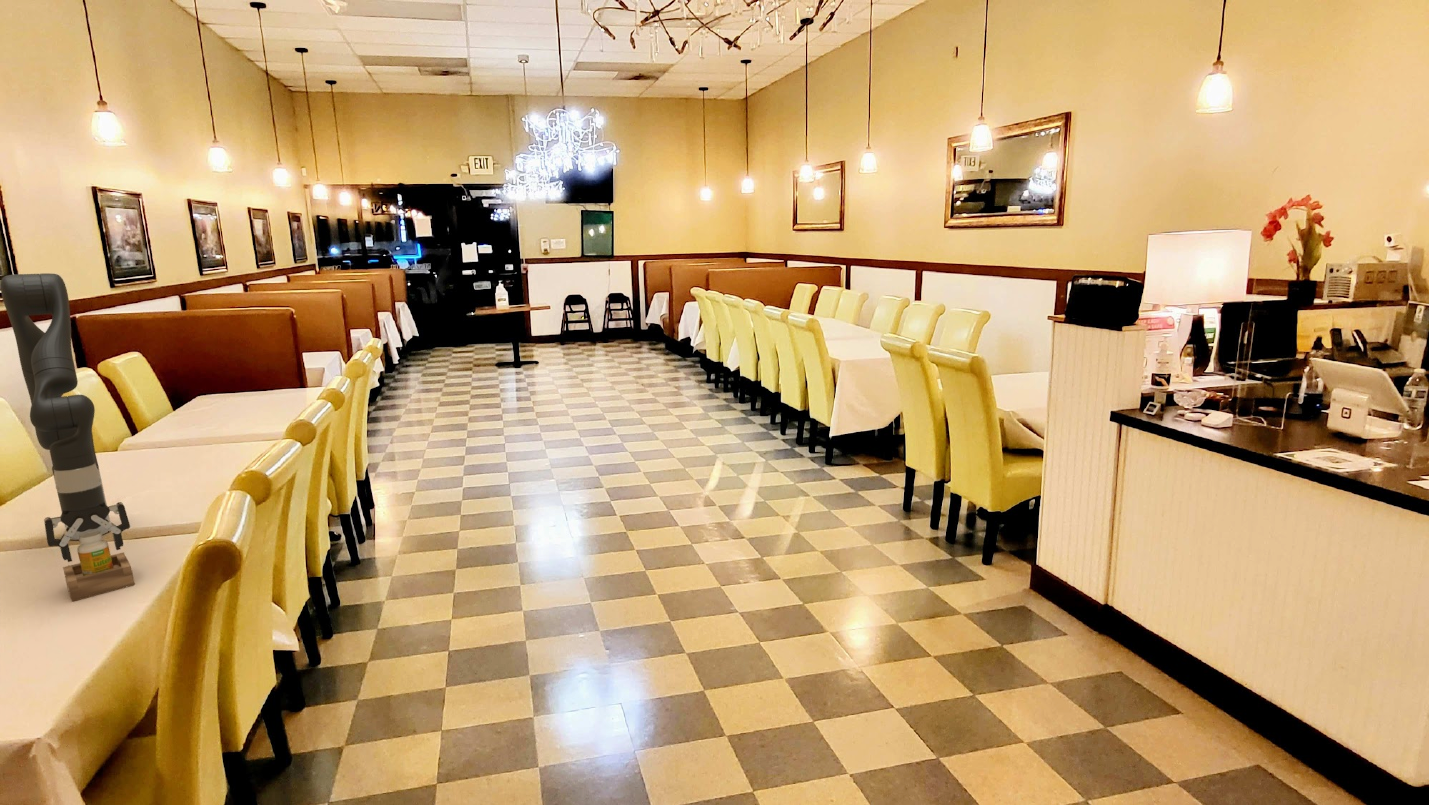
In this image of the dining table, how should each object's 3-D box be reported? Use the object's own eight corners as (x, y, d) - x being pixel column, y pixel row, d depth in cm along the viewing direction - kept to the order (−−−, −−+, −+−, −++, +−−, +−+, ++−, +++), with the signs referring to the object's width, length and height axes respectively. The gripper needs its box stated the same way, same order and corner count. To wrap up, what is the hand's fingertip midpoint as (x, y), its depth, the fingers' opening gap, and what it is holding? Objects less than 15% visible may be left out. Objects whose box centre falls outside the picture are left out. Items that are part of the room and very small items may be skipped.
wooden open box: (67, 585, 171) (62, 567, 170) (127, 570, 179) (123, 552, 178) (72, 601, 164) (67, 582, 163) (134, 584, 171) (131, 566, 170)
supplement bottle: (96, 580, 168) (87, 539, 165) (77, 579, 169) (67, 538, 167) (120, 570, 173) (111, 530, 171) (101, 568, 174) (92, 529, 172)
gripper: (117, 474, 173) (131, 540, 177) (34, 490, 164) (51, 559, 167) (122, 481, 168) (136, 549, 172) (37, 498, 159) (54, 570, 162)
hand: (94, 554), depth 170 cm, fingers open, 8 cm apart
